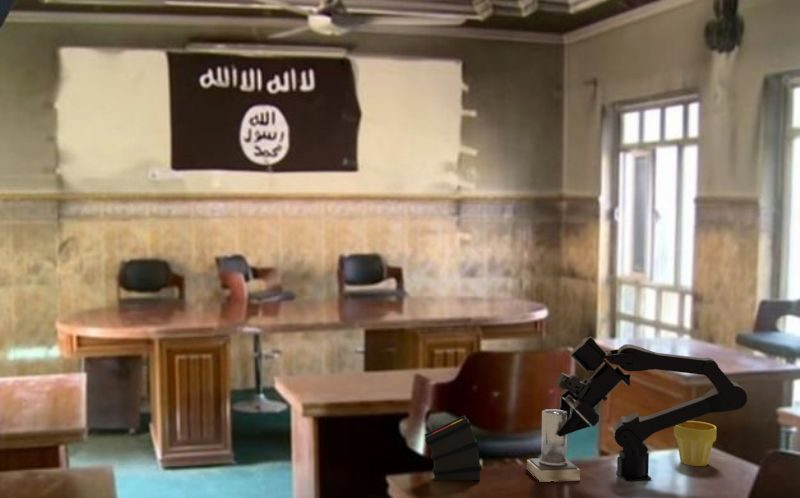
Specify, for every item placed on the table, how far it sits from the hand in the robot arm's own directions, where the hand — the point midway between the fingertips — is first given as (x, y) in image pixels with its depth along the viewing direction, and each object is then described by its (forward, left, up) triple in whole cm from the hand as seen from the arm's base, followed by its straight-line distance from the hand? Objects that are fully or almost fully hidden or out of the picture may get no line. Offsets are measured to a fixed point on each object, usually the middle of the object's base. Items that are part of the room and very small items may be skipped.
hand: (554, 430), depth 220 cm
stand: (0, 0, -11) cm, 11 cm away
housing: (0, 0, -8) cm, 8 cm away
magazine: (+25, 0, -11) cm, 28 cm away
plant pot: (-40, -6, -11) cm, 42 cm away
